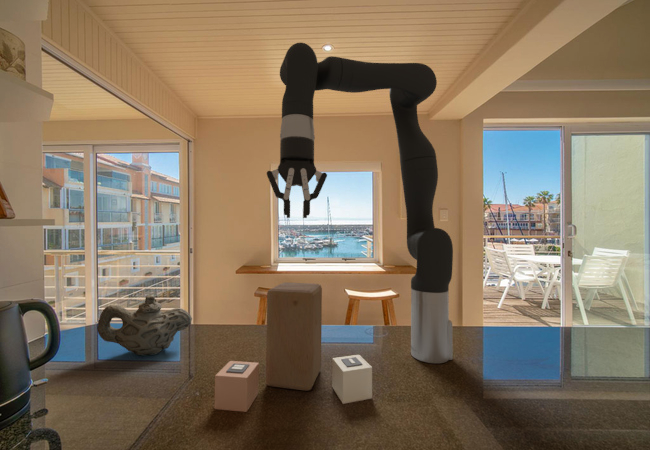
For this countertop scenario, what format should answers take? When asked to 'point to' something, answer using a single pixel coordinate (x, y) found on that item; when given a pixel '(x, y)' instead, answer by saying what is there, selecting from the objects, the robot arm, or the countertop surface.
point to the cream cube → (351, 378)
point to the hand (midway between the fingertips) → (296, 217)
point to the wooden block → (293, 335)
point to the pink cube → (236, 386)
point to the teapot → (143, 326)
